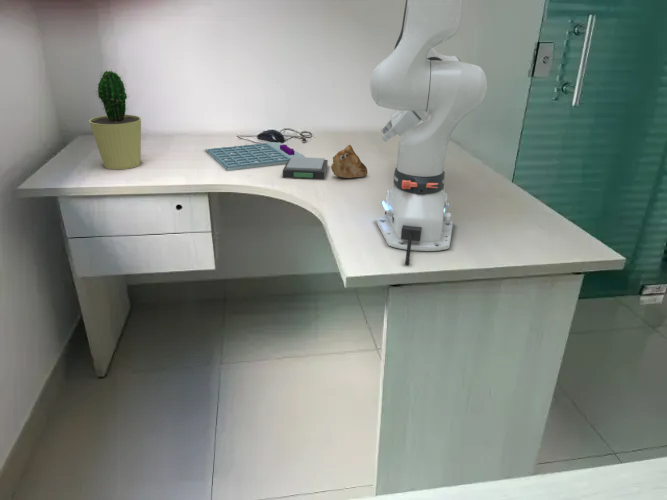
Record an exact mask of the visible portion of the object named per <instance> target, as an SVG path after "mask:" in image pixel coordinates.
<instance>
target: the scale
mask: <svg viewBox="0 0 667 500" xmlns="http://www.w3.org/2000/svg"><path fill="white" fill-rule="evenodd" d="M328 163H329V161H328V159H325V158H324V157H306V156H304V157H291V158H289V160H288V161H287V163H286V164H284V167H283V169H282V178H284V179H304V180H305V179H307V180H325V177H326V174H327V170H328V166H329V164H328Z"/></svg>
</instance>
